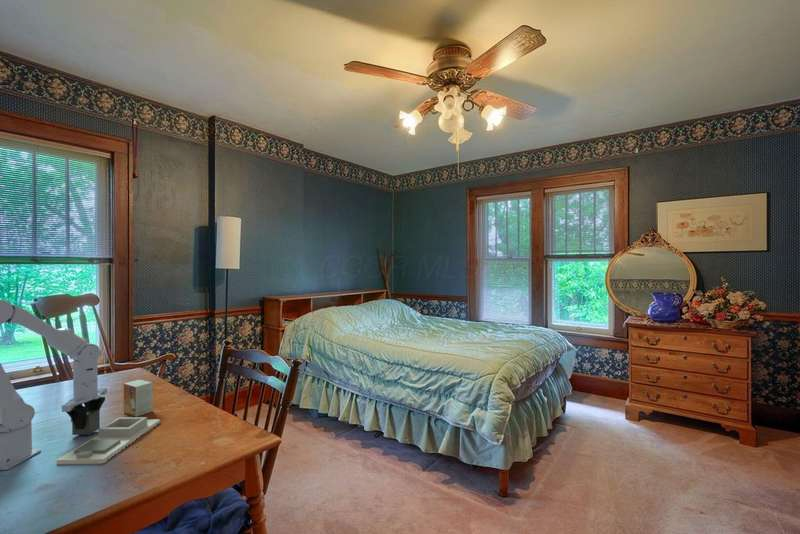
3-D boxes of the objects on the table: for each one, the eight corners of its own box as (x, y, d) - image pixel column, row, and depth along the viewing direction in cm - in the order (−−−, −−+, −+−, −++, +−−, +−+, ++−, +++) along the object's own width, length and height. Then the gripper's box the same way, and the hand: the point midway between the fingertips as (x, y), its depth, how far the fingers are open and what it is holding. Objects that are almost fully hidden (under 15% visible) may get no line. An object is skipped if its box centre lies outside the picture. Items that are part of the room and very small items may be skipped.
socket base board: (103, 463, 96) (103, 449, 96) (56, 464, 96) (56, 450, 96) (160, 422, 120) (159, 411, 120) (122, 423, 120) (122, 412, 120)
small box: (123, 412, 128) (122, 383, 128) (140, 407, 133) (140, 378, 133) (135, 417, 124) (135, 387, 124) (153, 411, 129) (152, 382, 129)
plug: (89, 434, 110) (89, 415, 110) (68, 434, 110) (68, 415, 110) (99, 428, 114) (99, 409, 114) (79, 428, 114) (79, 409, 114)
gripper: (79, 390, 105) (79, 436, 105) (116, 374, 119) (116, 415, 120) (53, 390, 105) (54, 436, 105) (94, 374, 119) (94, 415, 119)
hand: (86, 425), depth 112 cm, fingers closed on plug, 4 cm apart
